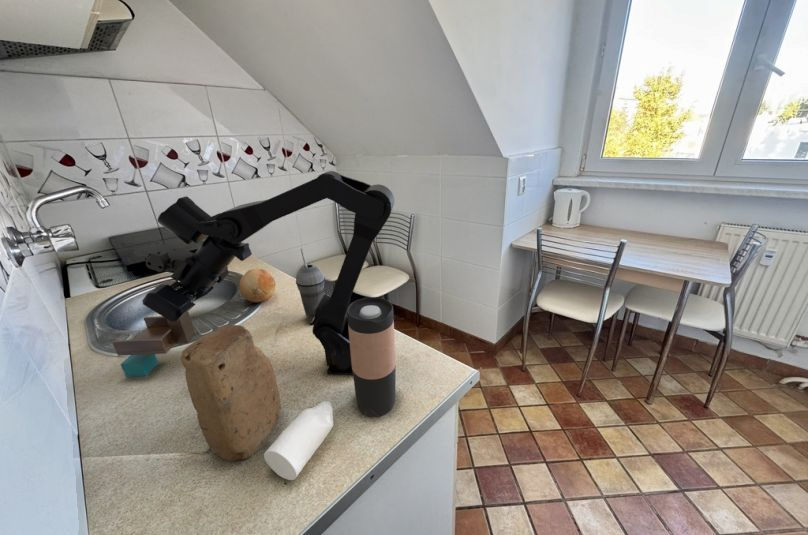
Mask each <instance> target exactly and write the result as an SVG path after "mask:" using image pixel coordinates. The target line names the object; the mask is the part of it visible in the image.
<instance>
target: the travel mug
mask: <svg viewBox="0 0 808 535" xmlns="http://www.w3.org/2000/svg"><path fill="white" fill-rule="evenodd" d="M347 318H348V329H349V340H350V352H351V363H352V372H353V375H352V379H353V386H354V392H355V400H356V406H357V408H358V410H359V411H360V412H361V414H363V415H365V416H368V417H371V418H372V417H373V418H374V417H376V418H378V417H381V416H385V415H387V414H388V413H390V412H391V411H392V409H393V408H394V406H395V404H396V378H397V377H396V375H397V374H396V370H397V368H396V361H397V360H396V342H395V340H396V339H395V322H394V318H395V317H394V306H393V304H392V303H391V302H390V301H389V300H387V299H386V298H383V297H377V296H370V297H369V296H368V297H363V298H359V299H356V300H354V301H352V302H350V305H349V307H348V309H347Z"/></svg>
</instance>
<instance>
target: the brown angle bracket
mask: <svg viewBox="0 0 808 535" xmlns="http://www.w3.org/2000/svg"><path fill="white" fill-rule="evenodd" d="M178 282H179V280H178V281H176V280H174V279H173V280H172V279H171V280H164V281H162V282H161V283H159V284H158V285H156V286H155V287H154V289H155V288H156V287H158V286H159V285H167V284H168V285H170V286H171V287H173V286H174V285H175V284H177V283H178ZM143 320H144V323H145V326H146V328H145V329H144V330H142V331H141V332H140V333H138V334H137V335H136V336H135V337H134V338H132V339H124V340H123V339H121V340H120V339H119V340H113V341H112V342H111V344H112V345H113V348H114V351H115V352H116V354H117V356H118V357H122V356H130V355H146V354H155V355H165V354H167V353H168V352H169V351H171V349H172V348H173V347H174V346H175V345H181V344H182V345H183V344H184V345H185V344H189V343H190V342H191V341H192V340H193V339H194V338H195V337H196V335H197V334H196V332H195V331H196V330H195V328H194V325H193V322H192V319H191V316H190V313H189V311H187V313H186V314H185V315H183V316H182V317H181V318H180V319H179V320H178V321H177V322H171V321H170V320H168V319H166V318H165V317H163V316H161V315H159V316H157V315H156V316H144V317H143Z"/></svg>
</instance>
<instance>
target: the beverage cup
mask: <svg viewBox="0 0 808 535" xmlns="http://www.w3.org/2000/svg"><path fill="white" fill-rule="evenodd" d="M300 252H301V256H302V260H303V264H304V265H303V266H302V267H300V268H299V269H298V271H297V272H296V276H295V284H296V288H297V289H298V292H299V295H300V299H301V302H302V306H303V311H304V315H305V318H306V321H307V322H308V324H311V322H312V320H313V318H314V316H315V312H316V308H317V306H318V304H319V302H320V301H321V299H322V297H323V296H324V294H325V281H326V277H325V275H324V273H323V270H322V269H321V268H319V267H318V266H317V265H316V264H315V265H314V264H307V261H306V256H305V252H304V249H303V248H300Z"/></svg>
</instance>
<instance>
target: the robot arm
mask: <svg viewBox="0 0 808 535" xmlns="http://www.w3.org/2000/svg"><path fill="white" fill-rule="evenodd" d="M326 199H328V200H330V201H332V202H334V203H336V204H337V205H339V206H340V207H342V208H343V209H345V210H347V211H348V212H351V213H354V219H353V230H352V231H353V232H352V237H351V240H350V243H349V246H348V248H347V252H346V254H345V256H344V260H343V261H342V265H341V267H340V270H339V273H338V276H337V279H336V281H335V284H334V286H333V290H332V292H331V294H330V295H329V294H327V293H324V296H323V297H322V299H321V301H320V302H319V304H318V306H317V308H316V312H315V316H314V318H313V320H312V322H311V323H309V325H310V326H312V335H314V337H315V338H316V339H317V340H318V341H319V343H320V344H321V346H322V347H323V349H324V356H325V363H326V366H327V369H326V374H327V375H347V376H348V375H349V376H353V372H352V363H351V352H350V340H349V329H348V318H347V309H348V307H349V305H350V304H351V299H352V295H353V293H354V290H355V288H356V285H357V283H358V279H359V277H360V275H361V272H362V270H363V267H364V265H365V262H366V259H367V257H368V254H369V252H370V249H371V247H372V245H373V243H374V241H375V240H376V239H377V236H378V235H379V234H380V232H381V231H382V229H383V227H384V226H385V224H386V222H387V221H388V220H389V218H390V217H391V213H392V212H393V211H392V210H393V208H394V206H395V197H394V195H393V191H391V189H389V187H387V186H385V185H383V184H372V185H371V184H368V183H366V182H365V181H361V180H358V179H355V178H352V177H348V176H345V175H342V174H340V173H338V172H337V171H334V170H328V171H325V172H323V173H321V174H319V175H318V176H316V178H313V179H310V180H309V181H307V182H304V183H302V184H300V185H298V186H296V187H293V188H291V189H289V190H287V191H284V192H282V193H280V194H278V195H275V196H272V197H270V198H269V199H263V200H258V201H257V200H256V201H252V202H248V203H243V204H240V205H237V206H235V207H232V208H229V209H227V210H225V211H222V212H219V213H216V214H214V215H210V214H208V213H207V212H206V211H205V210H204V209H202V208H201V207H200V206H199V205H198V204H196V203H195V201H194V200H192V199H191V198H190V197H189V196H188V195H185V196H182V197H179V198H177V200H176V201H175V202H174V203H172V204H171V205H170V206H168V207H167V208H166V209H165V210H164V211H162V212H161V213H160V214H159V215H158V217H157V223H158V224H159V225H161V226H162V227H164V228H165V230H167V231H168V232H170V233H171V234H173V235H174V236H175V237H176V238H178V239H179V240H180V241H182V242H184V243H185V244H187V245H190V244H191V243H194V244H200V243H201V242H202V244H201V245H200V246H199V247H198V248H197V250H196V251H195V252H192V251H190V250H188V249H186V248H183V247H179V246H177V245H175V244H172V243H162V244H160V245H158V246H156V247H154V248H152V249H151V250H150V252H148V254H147V256H146V257H144V261H145V266H146V267H147V268H148V269H150V270H153V271H156V272H159V273H162V272H166V273H170V274H171V275H170V278H171V280H172V279H173V280H176V281H178V283H177V284H175V285H174V286H173V287H171V286H170V285H168V284H167V285H159V284H158V285H159V286H158V285H157V286H158V287H156V286H155V287H156V288H155V287H154V288H153V289H152V290H150V291H149V292H148V293H146V295H145V296H144V297H143V298H142V300H141V302H142V305H144V306H145V307H146V308H149V309H150V310H151V311H154V312H155V313H156V314H158V315H159V316H163V317H165V318H166V319H168V320H170V321H171V322H177V321H178V320H179V319H180V318H181V317H182V316H183V315H185V314H186V313H187V311H188V312H189V311H190V310H192V308H193V307H195V306H196V303H194V302H196V301H197V300H199V299H201V298H203V297H204V296H207V295H208V294H210V292H212V290H213V289H214V288H215V287H214V285H216V284H218V285H219V284H221V283H222V282H223V281H224V280H225V279H226V278H227V276H228V275H229V269H228V268H229V265H230V264H231V263H232V262H233V260H234V259H235V258H237V259H238V260H239V261H240V262H243V261H245V260H246V259H248V258H249V257H251V256H252V255H253V254H252V251H251V249H250V243H249V242H244V241H245V240H247V239H248V238H250V237H252V236H254V235H255V234H257V233H258V232H260V231H262V230H263V229H264V228H266V227H267V226H268V225H270V224H271V223H272V222H274V221H276V220H279V219H281V218H283V217H286V216H287V215H291V214H293V213H296V212H298V211H299V210H302V209H305V208H307V207H309V206H311V205H314V204H316V203H318V202H321V201H323V200H326Z"/></svg>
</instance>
